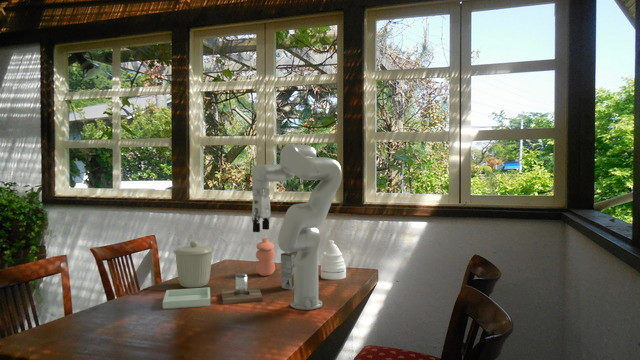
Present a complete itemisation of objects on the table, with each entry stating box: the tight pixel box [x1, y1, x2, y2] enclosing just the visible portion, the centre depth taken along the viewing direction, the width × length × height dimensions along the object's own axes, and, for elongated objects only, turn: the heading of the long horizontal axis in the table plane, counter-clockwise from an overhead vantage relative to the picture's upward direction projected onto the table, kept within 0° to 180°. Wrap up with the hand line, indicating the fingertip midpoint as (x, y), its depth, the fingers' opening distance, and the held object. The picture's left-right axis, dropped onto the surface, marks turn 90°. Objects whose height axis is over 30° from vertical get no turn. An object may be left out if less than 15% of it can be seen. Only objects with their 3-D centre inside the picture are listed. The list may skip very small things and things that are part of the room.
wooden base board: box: [221, 286, 264, 305], centre depth 194 cm, size 16×16×2 cm
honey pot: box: [320, 239, 347, 281], centre depth 232 cm, size 13×13×18 cm
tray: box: [162, 287, 211, 310], centre depth 188 cm, size 18×18×3 cm
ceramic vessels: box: [255, 237, 282, 285], centre depth 230 cm, size 35×21×19 cm, turn 55°
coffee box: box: [280, 251, 298, 291], centre depth 211 cm, size 9×6×16 cm
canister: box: [173, 240, 215, 289], centre depth 215 cm, size 18×18×21 cm
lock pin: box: [235, 272, 249, 296], centre depth 194 cm, size 5×5×10 cm
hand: (261, 230), depth 206 cm, fingers open, 9 cm apart
